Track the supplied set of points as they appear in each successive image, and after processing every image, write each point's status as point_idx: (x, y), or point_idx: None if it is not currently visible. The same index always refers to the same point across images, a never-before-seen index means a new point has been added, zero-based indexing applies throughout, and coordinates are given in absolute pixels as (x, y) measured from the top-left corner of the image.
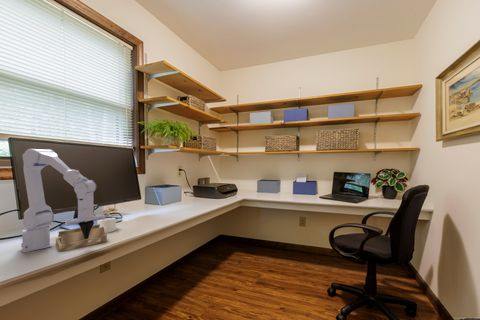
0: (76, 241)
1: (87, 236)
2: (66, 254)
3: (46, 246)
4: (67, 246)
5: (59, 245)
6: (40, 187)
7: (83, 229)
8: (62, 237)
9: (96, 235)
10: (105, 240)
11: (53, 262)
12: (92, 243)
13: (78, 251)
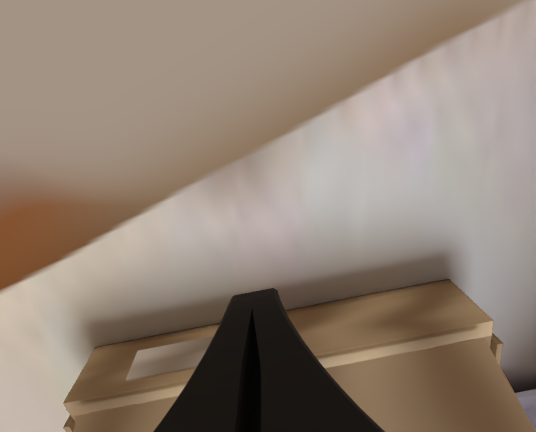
0: (347, 360)
1: (240, 309)
2: (409, 203)
3: (523, 403)
4: (412, 314)
5: (492, 322)
6: None
7: (334, 418)
8: (513, 419)
9: (159, 414)
10: (99, 356)
11: (532, 39)
12: (208, 335)
13: (317, 224)
